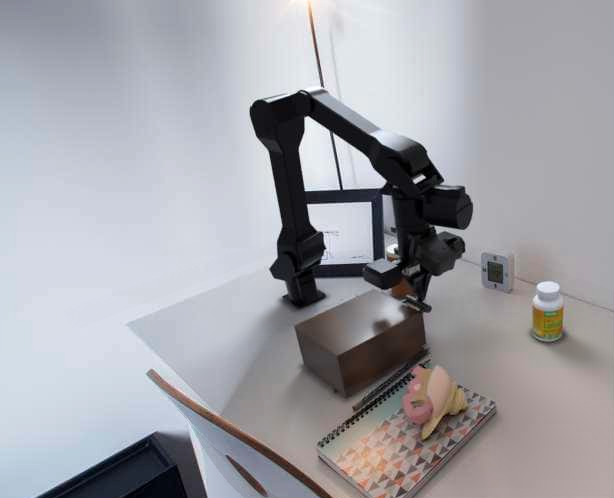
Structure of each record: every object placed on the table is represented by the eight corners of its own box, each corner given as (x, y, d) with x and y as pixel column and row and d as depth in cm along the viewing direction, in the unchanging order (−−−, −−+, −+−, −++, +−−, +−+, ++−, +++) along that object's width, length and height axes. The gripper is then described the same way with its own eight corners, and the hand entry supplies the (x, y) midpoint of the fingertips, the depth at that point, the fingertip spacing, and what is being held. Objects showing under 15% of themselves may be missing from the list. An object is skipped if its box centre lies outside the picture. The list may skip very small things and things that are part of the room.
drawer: (403, 311, 101) (400, 283, 98) (444, 333, 94) (441, 303, 91) (317, 356, 89) (309, 325, 86) (355, 385, 83) (349, 352, 80)
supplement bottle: (542, 345, 92) (543, 297, 87) (526, 330, 96) (526, 284, 91) (568, 336, 94) (570, 289, 89) (551, 322, 98) (553, 276, 93)
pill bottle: (386, 294, 109) (380, 250, 104) (402, 283, 113) (396, 241, 108) (405, 300, 107) (399, 255, 102) (421, 289, 111) (416, 245, 106)
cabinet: (380, 326, 99) (373, 288, 95) (423, 352, 91) (419, 312, 87) (304, 365, 89) (293, 325, 85) (346, 398, 81) (336, 356, 77)
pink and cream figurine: (459, 390, 83) (487, 376, 75) (442, 453, 78) (470, 445, 70) (406, 369, 80) (429, 352, 72) (384, 433, 75) (407, 422, 67)
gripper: (397, 253, 77) (409, 340, 85) (485, 215, 89) (489, 294, 97) (353, 233, 84) (368, 316, 92) (440, 200, 96) (447, 276, 104)
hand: (421, 300), depth 96 cm, fingers closed
